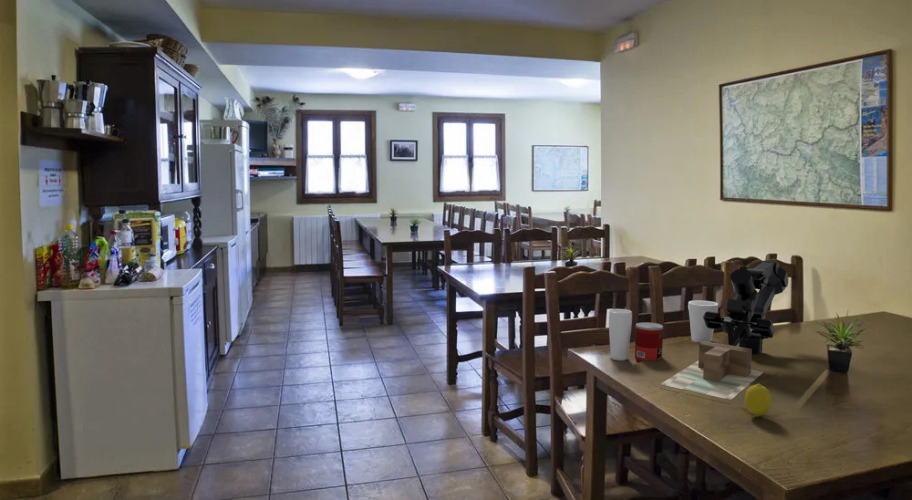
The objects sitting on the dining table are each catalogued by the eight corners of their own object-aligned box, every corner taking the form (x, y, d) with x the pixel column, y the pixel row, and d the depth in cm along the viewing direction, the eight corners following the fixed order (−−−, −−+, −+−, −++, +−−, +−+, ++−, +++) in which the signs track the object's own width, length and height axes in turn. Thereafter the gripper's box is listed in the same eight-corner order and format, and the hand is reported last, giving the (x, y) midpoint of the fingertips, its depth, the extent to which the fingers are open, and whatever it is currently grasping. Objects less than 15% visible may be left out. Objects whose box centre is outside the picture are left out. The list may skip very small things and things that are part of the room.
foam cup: (686, 336, 220) (687, 299, 219) (714, 337, 218) (716, 301, 216) (688, 343, 211) (689, 305, 210) (717, 345, 209) (719, 306, 207)
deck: (699, 363, 188) (699, 359, 188) (763, 376, 176) (764, 371, 176) (659, 388, 166) (660, 384, 166) (730, 404, 155) (730, 399, 154)
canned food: (663, 364, 187) (664, 328, 186) (635, 363, 189) (636, 327, 187) (660, 357, 195) (661, 322, 193) (633, 356, 196) (634, 321, 195)
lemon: (739, 412, 149) (741, 380, 148) (761, 412, 150) (763, 379, 149) (752, 421, 144) (754, 388, 143) (775, 421, 144) (777, 387, 143)
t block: (703, 364, 183) (704, 341, 182) (750, 373, 175) (751, 349, 174) (686, 375, 174) (687, 350, 173) (735, 385, 165) (737, 359, 164)
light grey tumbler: (631, 356, 195) (632, 309, 194) (629, 362, 189) (631, 314, 187) (608, 354, 198) (610, 308, 196) (606, 360, 191) (608, 312, 189)
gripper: (706, 284, 189) (691, 327, 182) (774, 292, 177) (760, 337, 170) (714, 306, 196) (700, 348, 189) (779, 314, 184) (767, 359, 177)
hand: (730, 348), depth 181 cm, fingers closed
